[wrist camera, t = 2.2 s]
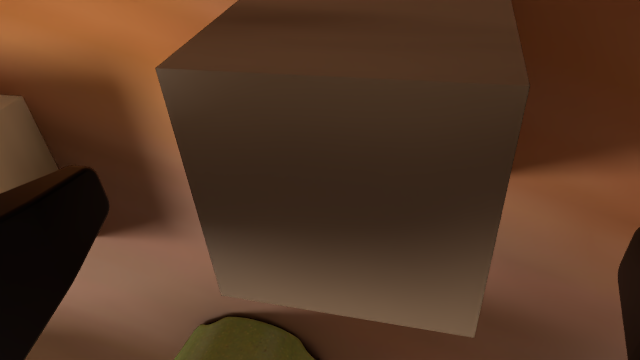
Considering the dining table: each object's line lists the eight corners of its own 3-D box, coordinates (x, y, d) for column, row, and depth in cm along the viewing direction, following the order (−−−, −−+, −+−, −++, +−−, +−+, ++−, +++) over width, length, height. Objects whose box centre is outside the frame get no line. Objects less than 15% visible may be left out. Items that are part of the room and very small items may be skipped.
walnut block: (472, 175, 12) (473, 337, 9) (291, 159, 14) (221, 295, 10) (505, -26, 9) (530, 86, 6) (269, -25, 11) (154, 68, 7)
